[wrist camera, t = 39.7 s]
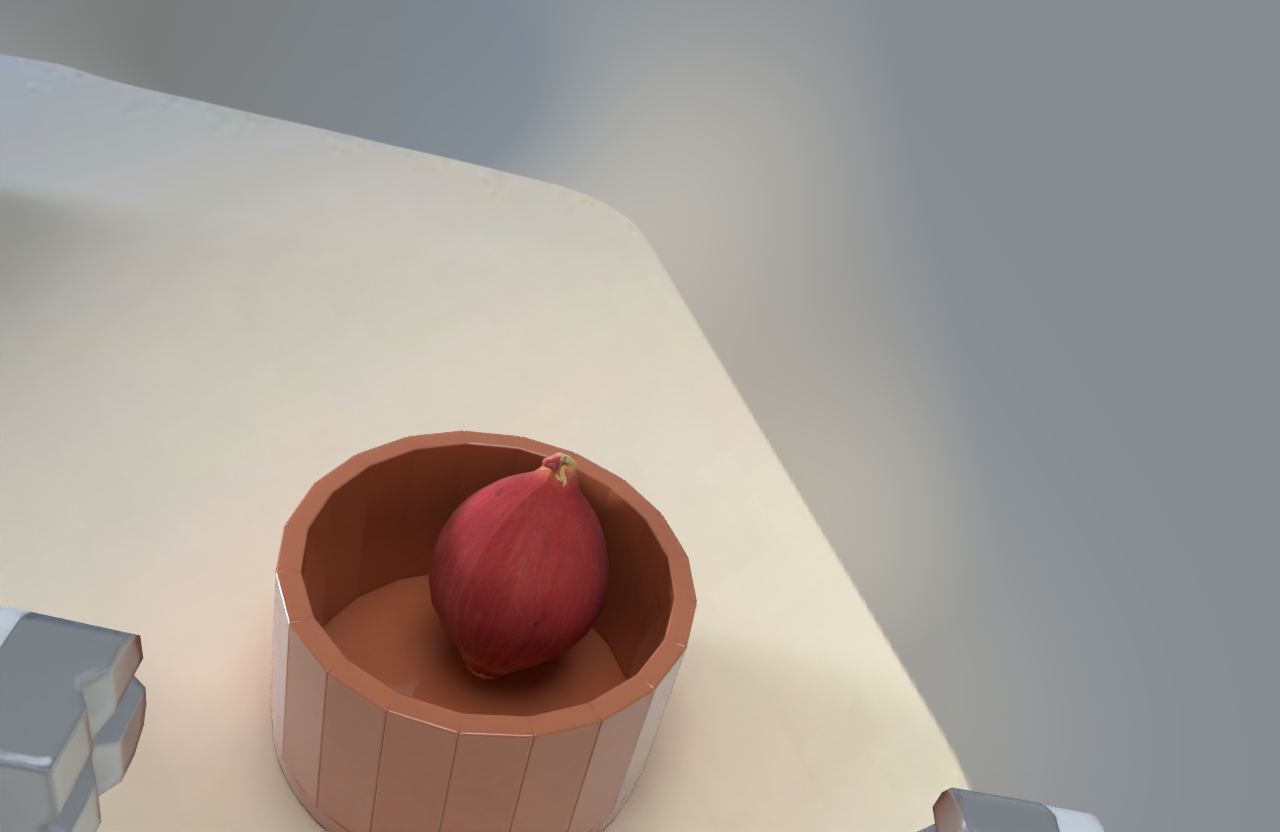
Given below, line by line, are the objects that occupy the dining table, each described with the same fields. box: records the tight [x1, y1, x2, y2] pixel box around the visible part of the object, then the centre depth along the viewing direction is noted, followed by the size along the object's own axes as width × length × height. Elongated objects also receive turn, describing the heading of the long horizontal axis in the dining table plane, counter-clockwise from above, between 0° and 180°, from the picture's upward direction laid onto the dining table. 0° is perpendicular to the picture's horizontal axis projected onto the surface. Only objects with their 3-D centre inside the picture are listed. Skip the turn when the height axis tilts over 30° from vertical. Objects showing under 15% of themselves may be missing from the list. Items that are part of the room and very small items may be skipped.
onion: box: [428, 453, 609, 679], centre depth 38 cm, size 6×6×8 cm
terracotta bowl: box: [270, 431, 697, 832], centre depth 37 cm, size 12×12×7 cm
